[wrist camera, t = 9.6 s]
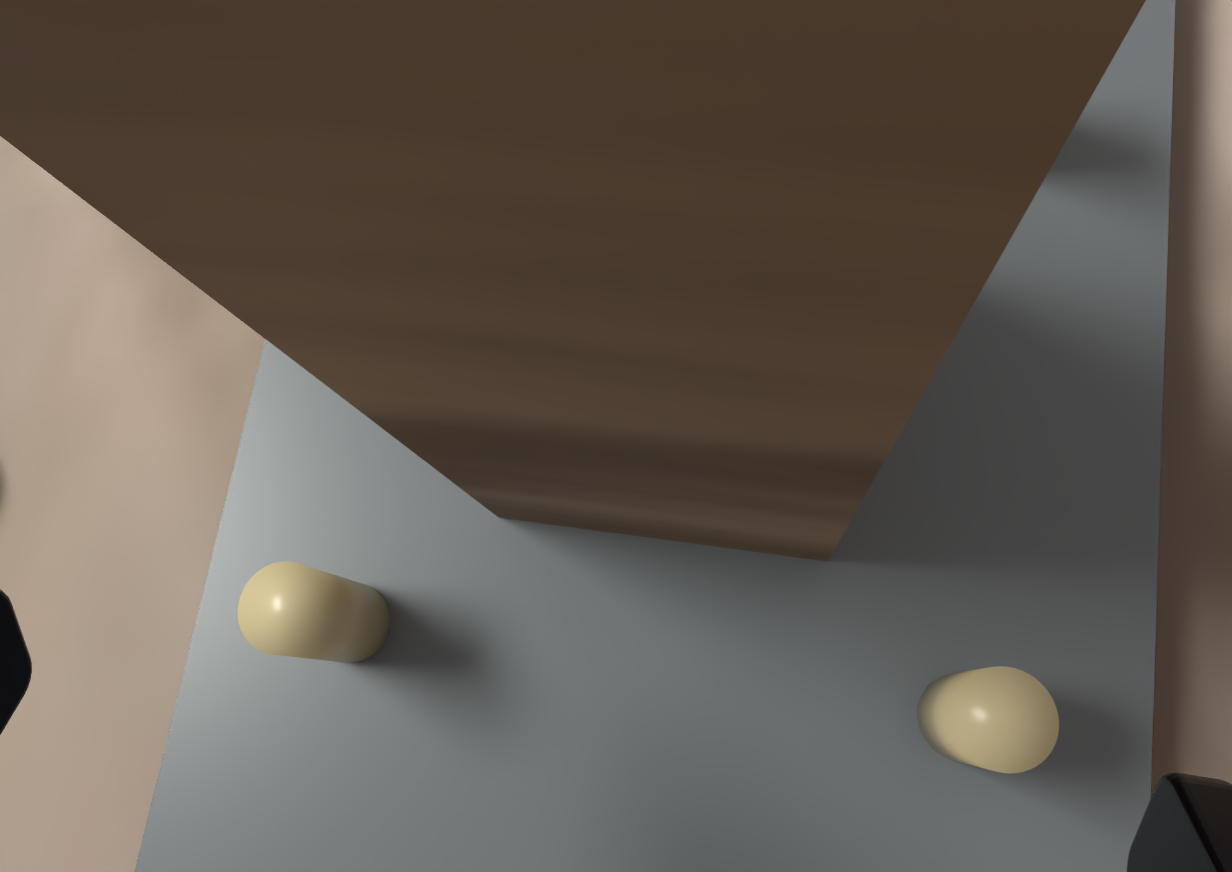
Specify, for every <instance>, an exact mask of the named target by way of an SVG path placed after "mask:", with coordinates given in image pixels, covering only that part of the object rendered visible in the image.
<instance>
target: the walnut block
mask: <svg viewBox="0 0 1232 872" xmlns="http://www.w3.org/2000/svg"><path fill="white" fill-rule="evenodd" d="M1145 1H1146V0H0V136H1V137H3V138H4V139H5V140H6V141H8V142H9V143H10V144H12V145H13V146H14V147H16V148H17V149H18V150H19V151H21V152H22V153H23V154H25V155H26V156H27V157H29V158H30V159H31V160H33V161H34V162H35V163H36V164H38V165H39V166H40V167H42V168H43V169H44V170H46V171H47V172H48V173H49V174H51V175H52V176H53V177H55V178H56V179H57V180H59V181H60V182H61V183H63V184H64V185H65V186H66V187H68V188H69V189H70V190H72V191H73V192H74V193H76V194H77V195H78V196H80V197H81V198H82V199H83V200H85V201H86V202H87V203H89V204H90V205H91V206H93V207H94V208H95V209H96V210H98V211H99V212H100V213H102V214H103V215H104V216H106V217H107V218H108V219H110V220H111V221H112V222H113V223H115V224H116V225H117V226H119V227H120V228H121V229H123V230H124V231H125V232H127V233H128V234H129V235H130V236H132V237H133V238H134V239H136V240H137V241H138V242H140V243H141V244H142V245H143V246H145V247H146V248H147V249H149V250H150V251H151V252H153V253H154V254H155V255H157V256H158V257H159V258H160V259H162V260H163V261H164V262H166V263H167V264H168V265H170V266H171V267H172V268H173V269H175V270H176V271H177V272H179V273H180V274H181V275H183V276H184V277H185V278H187V279H188V280H189V281H190V282H192V283H193V284H194V285H196V286H197V287H198V288H200V289H201V290H202V291H204V292H205V293H206V294H207V295H209V296H210V297H211V298H213V299H214V300H215V301H217V302H218V303H219V304H220V305H222V306H223V307H224V308H226V309H227V310H228V311H230V312H231V313H232V314H234V315H235V316H236V317H237V318H239V319H240V320H241V321H243V322H244V323H245V324H247V325H248V326H249V327H251V328H252V329H253V330H254V331H256V332H257V333H258V334H260V335H261V336H262V337H264V338H265V339H266V340H267V341H269V342H270V343H271V344H273V345H274V346H275V347H277V348H278V349H279V350H281V351H282V352H283V353H284V354H286V355H287V356H288V357H290V358H291V359H292V360H294V361H295V362H296V363H297V364H299V365H300V366H301V367H303V368H304V369H305V370H307V371H308V372H309V373H311V374H312V375H313V376H314V377H316V378H317V379H318V380H320V381H321V382H322V383H324V384H325V385H326V386H328V387H329V388H330V389H331V390H333V391H334V392H335V393H337V394H338V395H339V396H341V397H342V398H343V399H344V400H346V401H347V402H348V403H350V404H351V405H352V406H354V407H355V408H356V409H358V410H359V411H360V412H361V413H363V414H364V415H365V416H367V417H368V418H369V419H371V420H372V421H373V422H375V423H376V424H377V425H378V426H380V427H381V428H382V429H384V430H385V431H386V432H388V433H389V434H390V435H391V436H393V437H394V438H395V439H397V440H398V441H399V442H401V443H402V444H403V445H405V446H406V447H407V448H408V449H410V450H411V451H412V452H414V453H415V454H416V455H418V456H419V457H420V458H421V459H423V460H424V461H425V462H427V463H428V464H429V465H431V466H432V467H433V468H435V469H436V470H437V471H438V472H440V473H441V474H442V475H444V476H445V477H446V478H448V479H449V480H450V481H452V482H453V483H454V484H455V485H457V486H458V487H459V488H461V489H462V490H463V491H465V492H466V493H467V494H468V495H470V496H471V497H472V498H474V499H475V500H476V501H478V502H479V503H480V504H482V505H483V506H484V507H485V508H487V509H488V510H489V511H491V512H492V513H493V514H495V515H496V516H497V517H499V518H506V519H514V520H521V521H529V522H536V523H543V524H551V525H558V526H566V527H573V528H581V529H588V530H596V531H603V532H611V533H618V534H626V535H633V536H641V537H648V538H656V539H663V540H671V541H678V542H685V543H693V544H700V545H708V546H715V547H723V548H730V549H738V550H745V551H753V552H760V553H768V554H775V555H783V556H790V557H798V558H805V559H813V560H820V561H827V562H828V560H829V558H830V556H831V555H832V553H833V551H834V549H835V548H836V546H837V544H838V542H839V541H840V539H841V537H842V535H843V534H844V532H845V530H846V528H847V527H848V525H849V523H850V521H851V519H852V518H853V516H854V514H855V512H856V511H857V509H858V507H859V505H860V504H861V502H862V500H863V498H864V497H865V495H866V493H867V491H868V489H869V488H870V486H871V484H872V482H873V481H874V479H875V477H876V475H877V474H878V472H879V470H880V468H881V467H882V465H883V463H884V461H885V460H886V458H887V456H888V454H889V452H890V451H891V449H892V447H893V445H894V444H895V442H896V440H897V438H898V437H899V435H900V433H901V431H902V430H903V428H904V426H905V424H906V422H907V421H908V419H909V417H910V415H911V414H912V412H913V410H914V408H915V407H916V405H917V403H918V401H919V400H920V398H921V396H922V394H923V393H924V391H925V389H926V387H927V385H928V384H929V382H930V380H931V378H932V377H933V375H934V373H935V371H936V370H937V368H938V366H939V364H940V363H941V361H942V359H943V357H944V355H945V354H946V352H947V350H948V348H949V347H950V345H951V343H952V341H953V340H954V338H955V336H956V334H957V333H958V331H959V329H960V327H961V326H962V324H963V322H964V320H965V318H966V317H967V315H968V313H969V311H970V310H971V308H972V306H973V304H974V303H975V301H976V299H977V297H978V296H979V294H980V292H981V290H982V288H983V287H984V285H985V283H986V281H987V280H988V278H989V276H990V274H991V273H992V271H993V269H994V267H995V266H996V264H997V262H998V260H999V259H1000V257H1001V255H1002V253H1003V251H1004V250H1005V248H1006V246H1007V244H1008V243H1009V241H1010V239H1011V237H1012V236H1013V234H1014V232H1015V230H1016V229H1017V227H1018V225H1019V223H1020V221H1021V220H1022V218H1023V216H1024V214H1025V213H1026V211H1027V209H1028V207H1029V206H1030V204H1031V202H1032V200H1033V199H1034V197H1035V195H1036V193H1037V192H1038V190H1039V188H1040V186H1041V184H1042V183H1043V181H1044V179H1045V177H1046V176H1047V174H1048V172H1049V170H1050V169H1051V167H1052V165H1053V163H1054V162H1055V160H1056V158H1057V156H1058V154H1059V153H1060V151H1061V149H1062V147H1063V146H1064V144H1065V142H1066V140H1067V139H1068V137H1069V135H1070V133H1071V132H1072V130H1073V128H1074V126H1075V125H1076V123H1077V121H1078V119H1079V117H1080V116H1081V114H1082V112H1083V110H1084V109H1085V107H1086V105H1087V103H1088V102H1089V100H1090V98H1091V96H1092V95H1093V93H1094V91H1095V89H1096V87H1097V86H1098V84H1099V82H1100V80H1101V79H1102V77H1103V75H1104V73H1105V72H1106V70H1107V68H1108V66H1109V65H1110V63H1111V61H1112V59H1113V58H1114V56H1115V54H1116V52H1117V50H1118V49H1119V47H1120V45H1121V43H1122V42H1123V40H1124V38H1125V36H1126V35H1127V33H1128V31H1129V29H1130V28H1131V26H1132V24H1133V22H1134V20H1135V19H1136V17H1137V15H1138V13H1139V12H1140V10H1141V8H1142V6H1143V5H1144V3H1145Z"/></svg>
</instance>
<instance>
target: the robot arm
mask: <svg viewBox="0 0 1232 872" xmlns="http://www.w3.org/2000/svg"><path fill="white" fill-rule="evenodd" d="M31 673H32V662H31V658H30V655H29V652H28V649H27V646H26V643H25V641H24V638H23V635H22V632H21V629H20V626H19V623H18V620H17V618H16V615H15V612H14V609H13V606H12V603H11V601H10V599H9V597H8V596H7V595H6V594H5V593H4V592H3V591H2V590H0V735H1V733H2V731H3V730H4V728H5V726H6V725H7V723H8V721H9V720H10V718H11V716H12V715H13V713H14V711H15V710H16V708H17V706H18V704H19V703H20V701H21V699H22V698H23V696H24V694H25V692H26V690H27V688H28V685H29V682H30V679H31ZM1127 872H1232V784H1230V783H1228V782H1225V781H1222V780H1218V779H1212V778H1205V777H1199V776H1193V775H1187V774H1180V773H1170V774H1167V775H1164V776H1163V777H1162V778H1161V779H1160V780H1159V782H1158V783H1157V785H1156V787H1155V789H1154V791H1153V794H1152V796H1151V799H1150V801H1149V803H1148V806H1147V808H1146V811H1145V813H1144V816H1143V818H1142V820H1141V823H1140V825H1139V828H1138V830H1137V832H1136V835H1135V837H1134V840H1133V842H1132V844H1131V847H1130V850H1129V855H1128V861H1127Z"/></svg>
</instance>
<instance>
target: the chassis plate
mask: <svg viewBox="0 0 1232 872" xmlns="http://www.w3.org/2000/svg"><path fill="white" fill-rule="evenodd" d="M1174 32H1175V0H1146V1H1145V3H1144V5H1143V6H1142V8H1141V10H1140V12H1139V13H1138V15H1137V17H1136V19H1135V20H1134V22H1133V24H1132V26H1131V28H1130V29H1129V31H1128V33H1127V35H1126V36H1125V38H1124V40H1123V42H1122V43H1121V45H1120V47H1119V49H1118V50H1117V52H1116V54H1115V56H1114V58H1113V59H1112V61H1111V63H1110V65H1109V66H1108V68H1107V70H1106V72H1105V73H1104V75H1103V77H1102V79H1101V80H1100V82H1099V84H1098V86H1097V87H1096V89H1095V91H1094V93H1093V95H1092V96H1091V98H1090V100H1089V102H1088V103H1087V105H1086V107H1085V109H1084V110H1083V112H1082V114H1081V116H1080V117H1079V119H1078V121H1077V123H1076V125H1075V126H1074V128H1073V130H1072V132H1071V133H1070V135H1069V137H1068V139H1067V140H1066V142H1065V144H1064V146H1063V147H1062V149H1061V151H1060V153H1059V154H1058V156H1057V158H1056V160H1055V162H1054V163H1053V165H1052V167H1051V169H1050V170H1049V172H1048V174H1047V176H1046V177H1045V179H1044V181H1043V183H1042V184H1041V186H1040V188H1039V190H1038V192H1037V193H1036V195H1035V197H1034V199H1033V200H1032V202H1031V204H1030V206H1029V207H1028V209H1027V211H1026V213H1025V214H1024V216H1023V218H1022V220H1021V221H1020V223H1019V225H1018V227H1017V229H1016V230H1015V232H1014V234H1013V236H1012V237H1011V239H1010V241H1009V243H1008V244H1007V246H1006V248H1005V250H1004V251H1003V253H1002V255H1001V257H1000V259H999V260H998V262H997V264H996V266H995V267H994V269H993V271H992V273H991V274H990V276H989V278H988V280H987V281H986V283H985V285H984V287H983V288H982V290H981V292H980V294H979V296H978V297H977V299H976V301H975V303H974V304H973V306H972V308H971V310H970V311H969V313H968V315H967V317H966V318H965V320H964V322H963V324H962V326H961V327H960V329H959V331H958V333H957V334H956V336H955V338H954V340H953V341H952V343H951V345H950V347H949V348H948V350H947V352H946V354H945V355H944V357H943V359H942V361H941V363H940V364H939V366H938V368H937V370H936V371H935V373H934V375H933V377H932V378H931V380H930V382H929V384H928V385H927V387H926V389H925V391H924V393H923V394H922V396H921V398H920V400H919V401H918V403H917V405H916V407H915V408H914V410H913V412H912V414H911V415H910V417H909V419H908V421H907V422H906V424H905V426H904V428H903V430H902V431H901V433H900V435H899V437H898V438H897V440H896V442H895V444H894V445H893V447H892V449H891V451H890V452H889V454H888V456H887V458H886V460H885V461H884V463H883V465H882V467H881V468H880V470H879V472H878V474H877V475H876V477H875V479H874V481H873V482H872V484H871V486H870V488H869V489H868V491H867V493H866V495H865V497H864V498H863V500H862V502H861V504H860V505H859V507H858V509H857V511H856V512H855V514H854V516H853V518H852V519H851V521H850V523H849V525H848V527H847V528H846V530H845V532H844V534H843V535H842V537H841V539H840V541H839V542H838V544H837V546H836V548H835V549H834V551H833V553H832V555H831V556H830V558H829V560H828V562H827V561H820V560H813V559H805V558H798V557H790V556H783V555H775V554H768V553H760V552H753V551H745V550H738V549H730V548H723V547H715V546H708V545H700V544H693V543H685V542H678V541H671V540H663V539H656V538H648V537H641V536H633V535H626V534H618V533H611V532H603V531H596V530H588V529H581V528H573V527H566V526H558V525H551V524H543V523H536V522H529V521H521V520H514V519H506V518H499V517H497V516H496V515H495V514H493V513H492V512H491V511H489V510H488V509H487V508H485V507H484V506H483V505H482V504H480V503H479V502H478V501H476V500H475V499H474V498H472V497H471V496H470V495H468V494H467V493H466V492H465V491H463V490H462V489H461V488H459V487H458V486H457V485H455V484H454V483H453V482H452V481H450V480H449V479H448V478H446V477H445V476H444V475H442V474H441V473H440V472H438V471H437V470H436V469H435V468H433V467H432V466H431V465H429V464H428V463H427V462H425V461H424V460H423V459H421V458H420V457H419V456H418V455H416V454H415V453H414V452H412V451H411V450H410V449H408V448H407V447H406V446H405V445H403V444H402V443H401V442H399V441H398V440H397V439H395V438H394V437H393V436H391V435H390V434H389V433H388V432H386V431H385V430H384V429H382V428H381V427H380V426H378V425H377V424H376V423H375V422H373V421H372V420H371V419H369V418H368V417H367V416H365V415H364V414H363V413H361V412H360V411H359V410H358V409H356V408H355V407H354V406H352V405H351V404H350V403H348V402H347V401H346V400H344V399H343V398H342V397H341V396H339V395H338V394H337V393H335V392H334V391H333V390H331V389H330V388H329V387H328V386H326V385H325V384H324V383H322V382H321V381H320V380H318V379H317V378H316V377H314V376H313V375H312V374H311V373H309V372H308V371H307V370H305V369H304V368H303V367H301V366H300V365H299V364H297V363H296V362H295V361H294V360H292V359H291V358H290V357H288V356H287V355H286V354H284V353H283V352H282V351H281V350H279V349H278V348H277V347H275V346H274V345H273V344H271V343H270V342H269V341H267V340H266V339H265V343H264V347H263V351H262V355H261V359H260V363H259V367H258V371H257V375H256V380H255V384H254V388H253V392H252V396H251V400H250V404H249V408H248V412H247V416H246V420H245V424H244V428H243V432H242V437H241V441H240V445H239V449H238V453H237V457H236V461H235V465H234V469H233V473H232V477H231V481H230V485H229V489H228V494H227V498H226V502H225V506H224V510H223V514H222V518H221V522H220V526H219V530H218V534H217V538H216V542H215V546H214V551H213V555H212V559H211V563H210V567H209V571H208V575H207V579H206V583H205V587H204V591H203V595H202V599H201V603H200V608H199V612H198V616H197V620H196V624H195V628H194V632H193V636H192V640H191V644H190V648H189V652H188V656H187V660H186V665H185V669H184V673H183V677H182V681H181V685H180V689H179V693H178V697H177V701H176V705H175V709H174V713H173V717H172V722H171V726H170V730H169V734H168V738H167V742H166V746H165V750H164V754H163V758H162V762H161V766H160V770H159V774H158V778H157V783H156V787H155V791H154V795H153V799H152V803H151V807H150V811H149V815H148V819H147V823H146V827H145V831H144V835H143V840H142V844H141V848H140V852H139V856H138V860H137V864H136V868H135V872H1127V861H1128V855H1129V850H1130V847H1131V844H1132V842H1133V840H1134V837H1135V835H1136V832H1137V830H1138V828H1139V825H1140V823H1141V820H1142V818H1143V816H1144V813H1145V811H1146V808H1147V806H1148V803H1149V801H1150V799H1151V771H1152V739H1153V707H1154V674H1155V642H1156V610H1157V578H1158V546H1159V514H1160V482H1161V449H1162V417H1163V385H1164V353H1165V321H1166V289H1167V257H1168V224H1169V192H1170V160H1171V128H1172V96H1173V64H1174Z"/></svg>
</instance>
